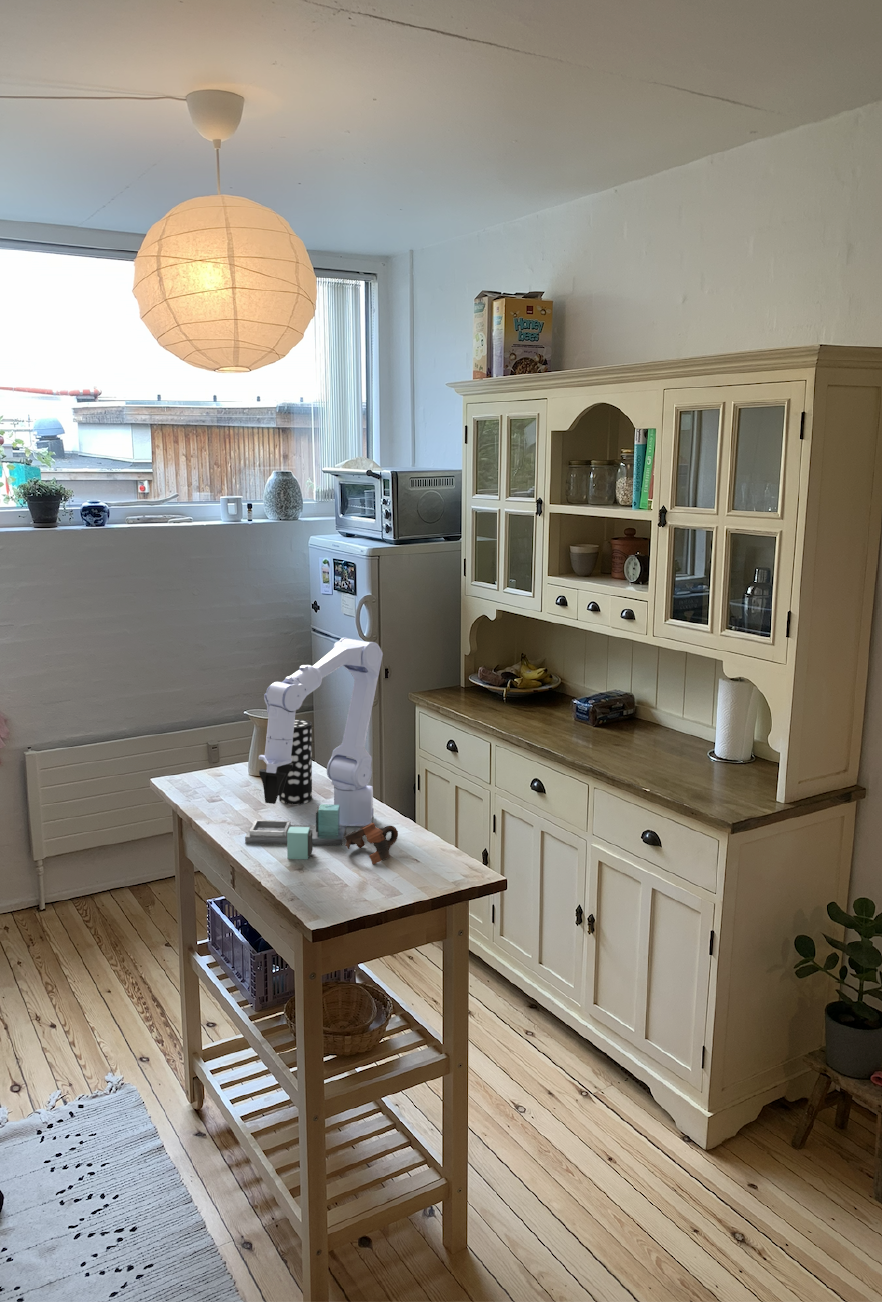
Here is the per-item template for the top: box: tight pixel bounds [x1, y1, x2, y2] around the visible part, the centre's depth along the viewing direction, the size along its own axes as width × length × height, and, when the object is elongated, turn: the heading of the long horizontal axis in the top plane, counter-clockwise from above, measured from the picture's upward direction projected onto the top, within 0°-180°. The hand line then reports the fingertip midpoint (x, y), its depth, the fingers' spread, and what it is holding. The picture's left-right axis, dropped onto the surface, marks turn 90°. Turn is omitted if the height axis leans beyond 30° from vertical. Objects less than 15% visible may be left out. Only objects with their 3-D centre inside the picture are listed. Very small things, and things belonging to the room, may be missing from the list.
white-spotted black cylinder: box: [278, 718, 313, 805], centre depth 246 cm, size 8×8×20 cm
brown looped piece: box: [344, 822, 399, 865], centre depth 215 cm, size 12×10×8 cm
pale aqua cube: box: [286, 827, 313, 860], centre depth 213 cm, size 5×4×6 cm
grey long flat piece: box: [244, 803, 347, 846], centre depth 223 cm, size 22×8×8 cm, turn 90°
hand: (273, 799), depth 212 cm, fingers open, 7 cm apart
